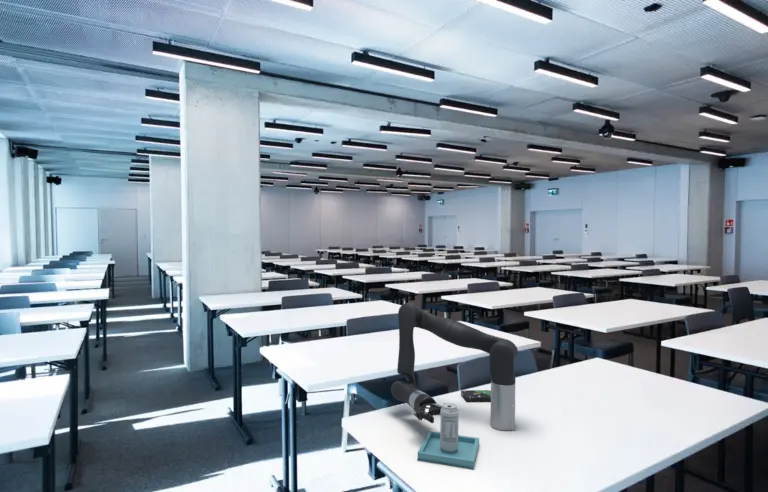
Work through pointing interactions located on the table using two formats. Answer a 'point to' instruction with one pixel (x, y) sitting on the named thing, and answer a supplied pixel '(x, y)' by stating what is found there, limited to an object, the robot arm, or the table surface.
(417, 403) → the robot arm
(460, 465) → the tray
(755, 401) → the table surface
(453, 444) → the energy drink can
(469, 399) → the disk drive
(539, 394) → the table surface
